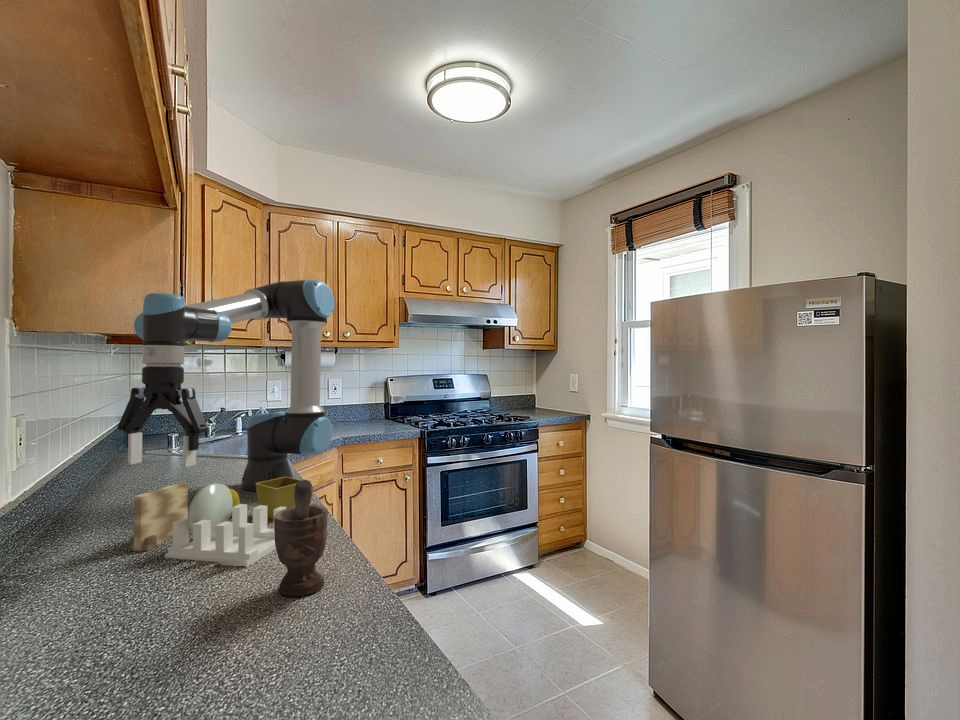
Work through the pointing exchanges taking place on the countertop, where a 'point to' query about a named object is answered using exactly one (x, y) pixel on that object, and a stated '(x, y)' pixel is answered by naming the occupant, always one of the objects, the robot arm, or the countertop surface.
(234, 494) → the lemon
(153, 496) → the bamboo board
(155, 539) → the board stand
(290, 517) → the mortar and pestle
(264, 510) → the dish rack
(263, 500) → the flower pot
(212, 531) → the sage plate
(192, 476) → the countertop surface
